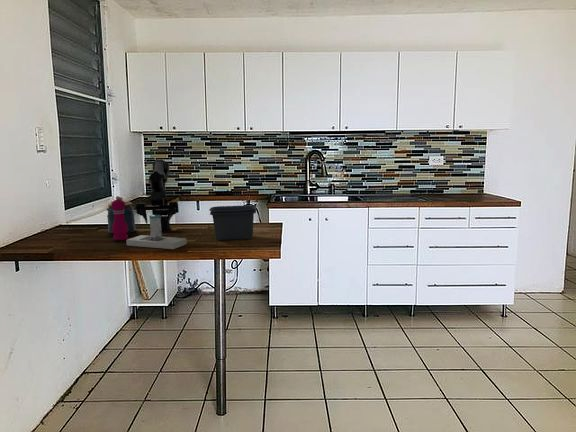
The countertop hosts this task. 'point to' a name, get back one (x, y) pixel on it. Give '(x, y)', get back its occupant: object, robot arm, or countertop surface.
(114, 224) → the pepper mill
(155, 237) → the sleeve
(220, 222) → the storage bin
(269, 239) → the countertop surface
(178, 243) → the white flat box
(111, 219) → the canister
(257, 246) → the countertop surface
